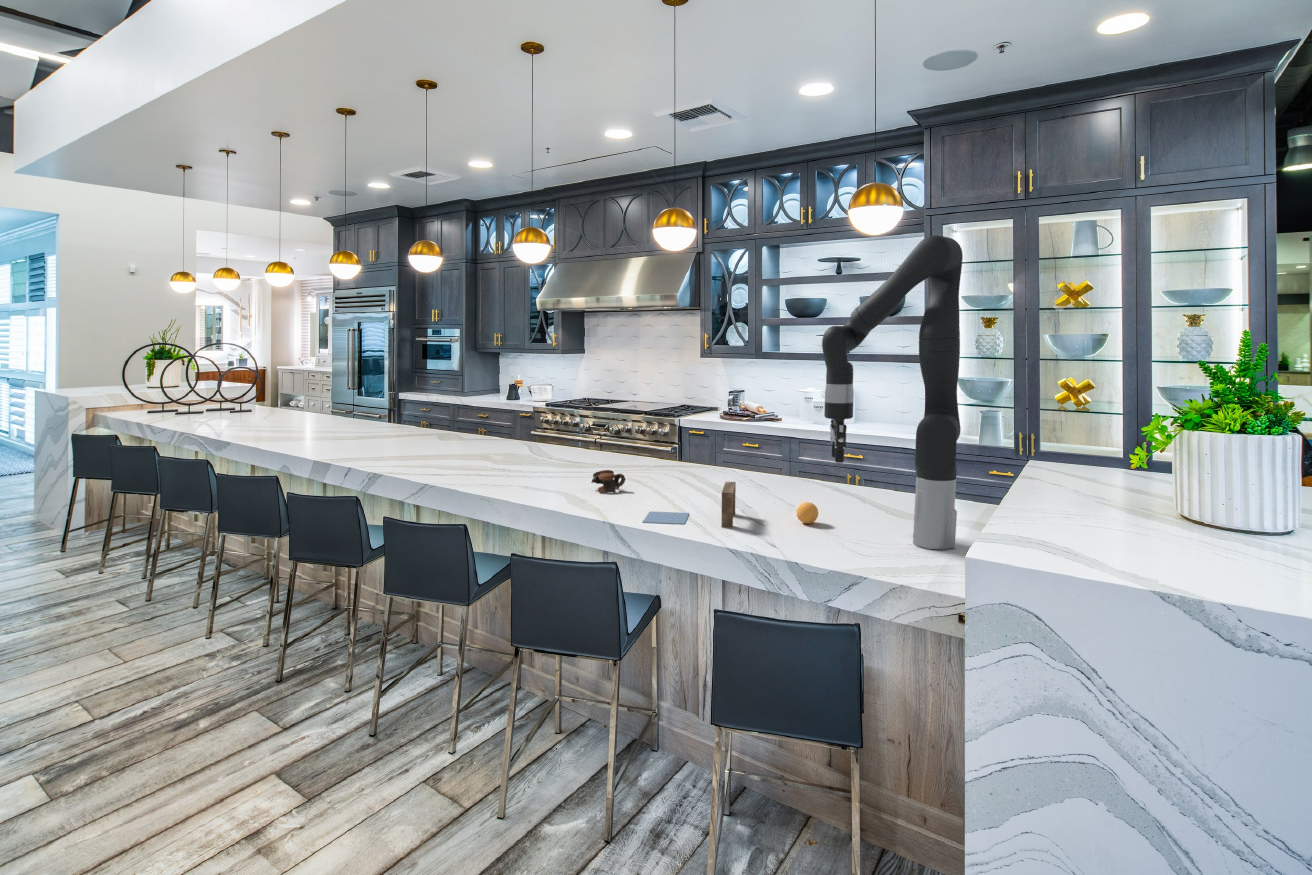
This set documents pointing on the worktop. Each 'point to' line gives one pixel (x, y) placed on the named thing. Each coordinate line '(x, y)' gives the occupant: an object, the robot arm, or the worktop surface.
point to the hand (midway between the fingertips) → (837, 459)
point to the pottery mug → (608, 480)
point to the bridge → (728, 504)
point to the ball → (807, 512)
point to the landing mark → (666, 517)
